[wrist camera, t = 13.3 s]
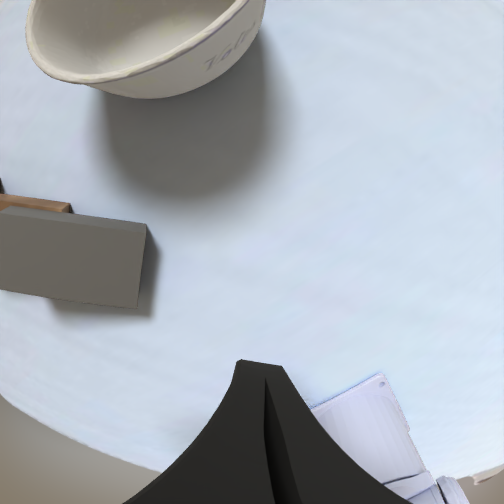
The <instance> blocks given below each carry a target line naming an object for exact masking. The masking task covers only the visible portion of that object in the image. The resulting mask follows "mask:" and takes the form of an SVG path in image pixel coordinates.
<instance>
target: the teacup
mask: <svg viewBox="0 0 504 504" xmlns="http://www.w3.org/2000/svg"><path fill="white" fill-rule="evenodd" d="M265 3H266V0H32V1H31V4H30V7H29V10H28V15H27V20H26V27H25V31H26V43H27V47H28V50H29V52H30V55H31V57H32V59H33V61H34V62H35V64H36V65H37V66H38V67H39V68H40V69H41V70H42V71H43V72H44V73H45V74H47V75H49V76H50V77H52V78H54V79H57V80H60V81H64V82H68V83H73V84H84V85H87V86H90V87H92V88H96V89H99V90H102V91H106V92H109V93H112V94H116V95H120V96H125V97H131V98H140V99H155V98H164V97H170V96H175V95H179V94H183V93H186V92H188V91H191V90H194V89H196V88H198V87H200V86H203V85H205V84H207V83H208V82H210V81H212V80H214V79H215V78H217V77H219V76H220V75H221V74H223V73H224V72H225V71H227V70H228V69H229V68H230V67H231V66H232V65H234V64H235V63H236V62H237V61H238V60H239V59H240V58H241V56H242V55H243V54H244V53H245V52H246V50H247V49H248V48H249V46H250V45H251V43H252V42H253V40H254V38H255V36H256V34H257V32H258V30H259V28H260V25H261V22H262V19H263V15H264V9H265Z"/></svg>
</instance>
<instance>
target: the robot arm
mask: <svg viewBox="0 0 504 504" xmlns="http://www.w3.org/2000/svg"><path fill="white" fill-rule="evenodd" d="M381 382H382V383H381ZM380 383H381V384H380ZM409 430H410V428H409V425H408V423H407V421H406V419H405V417H404V415H403V413H402V410H401V408H400V406H399V404H398V402H397V400H396V398H395V396H394V394H393V391H392V389H391V387H390V385H389V383H388V381H387V379H386V377H385V375H384V374H383V373H378V374H376V375H374V376H373V377H371V378H369V379H368V380H366V381H364V382H362V383H361V384H359V385H357V386H355V387H353V388H352V389H350V390H348V391H346V392H344V393H342V394H340V395H338V396H337V397H335V398H333V399H331V400H329V401H327V402H325V403H323V404H321V405H319V406H317V407H315V408H312V409H309V408H308V406H307V405H306V403H305V402H304V400H303V399H302V397H301V396H300V394H299V393H298V391H297V390H296V388H295V386H294V385H293V383H292V382H291V380H290V378H289V377H288V375H287V373H286V372H285V370H284V369H283V367H282V366H279V365H272V364H266V363H260V362H254V361H248V360H242V359H241V360H239V361H237V362H236V366H235V370H234V374H233V378H232V382H231V384H230V386H229V388H228V390H227V392H226V394H225V396H224V398H223V400H222V402H221V403H220V405H219V407H218V408H217V410H216V411H215V413H214V414H213V416H212V417H211V419H210V420H209V422H208V423H207V425H206V426H205V427H204V429H203V430H202V431H201V432H200V434H199V435H198V436H197V437H196V439H195V440H194V441H193V442H192V443H191V445H190V446H189V447H188V448H187V449H186V450H185V451H184V452H183V453H182V454H181V455H180V456H179V457H178V458H177V459H176V460H175V462H174V463H173V464H172V465H170V466H169V467H168V468H167V469H166V470H165V471H164V472H163V473H162V474H161V475H160V476H158V477H157V478H156V479H155V480H153V481H152V482H151V483H150V484H149V485H147V486H146V487H145V488H143V489H142V490H141V491H140V492H138V493H137V494H136V495H135V496H133V497H132V498H130V499H129V500H127V501H126V502H124V503H123V504H469V502H468V500H467V498H466V496H465V494H464V492H463V490H462V489H461V487H460V486H459V484H458V482H457V481H456V480H455V478H452V477H446V476H441V477H439V478H438V479H436V481H437V484H438V486H439V489H440V492H439V490H438V488H437V487H436V484H435V482H434V480H433V478H432V476H431V474H430V472H429V470H426V468H425V466H424V464H423V461H422V459H421V457H420V455H419V453H418V451H417V449H416V447H415V445H414V443H413V441H412V439H411V437H410V435H409V434H408V432H409ZM440 493H441V495H442V496H441V495H440ZM442 498H443V499H442ZM443 500H444V501H443Z"/></svg>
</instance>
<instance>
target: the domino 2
mask: <svg viewBox="0 0 504 504" xmlns="http://www.w3.org/2000/svg"><path fill="white" fill-rule="evenodd" d="M146 233H147V232H146V224H143V223H136V222H129V221H122V220H115V219H108V218H101V217H93V216H86V215H79V214H71V213H64V212H56V211H49V210H41V209H34V208H26V207H18V206H9V207H7V208H5V209H3V210H2V211H0V289H1V290H6V291H12V292H17V293H23V294H29V295H35V296H41V297H47V298H54V299H60V300H67V301H74V302H81V303H89V304H97V305H105V306H114V307H122V308H132V309H137V304H138V294H139V285H140V276H141V268H142V261H143V254H144V247H145V240H146Z"/></svg>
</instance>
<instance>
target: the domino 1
mask: <svg viewBox="0 0 504 504" xmlns="http://www.w3.org/2000/svg"><path fill="white" fill-rule="evenodd" d="M9 206H18V207H26V208H34V209H41V210H49V211H56V212H64V213H69V210H70V203H65V202H58V201H51V200H44V199H37V198H30V197H22V196H15V195H7V194H0V211H2V210H3V209H5V208H7V207H9Z"/></svg>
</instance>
